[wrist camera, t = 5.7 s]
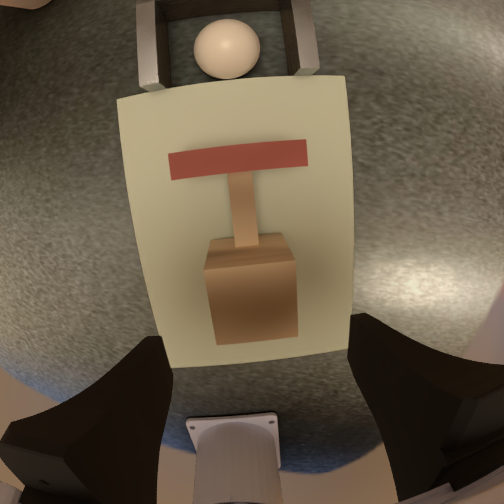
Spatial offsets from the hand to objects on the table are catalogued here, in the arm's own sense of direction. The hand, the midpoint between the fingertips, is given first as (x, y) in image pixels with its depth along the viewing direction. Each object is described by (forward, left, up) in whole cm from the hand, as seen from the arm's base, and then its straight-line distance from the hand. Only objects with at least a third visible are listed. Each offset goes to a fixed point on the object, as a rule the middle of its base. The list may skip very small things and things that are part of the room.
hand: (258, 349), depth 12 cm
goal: (+14, 0, -10) cm, 17 cm away
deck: (+2, 0, -10) cm, 10 cm away
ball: (+13, 0, -8) cm, 15 cm away
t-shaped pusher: (+3, 0, -7) cm, 8 cm away
